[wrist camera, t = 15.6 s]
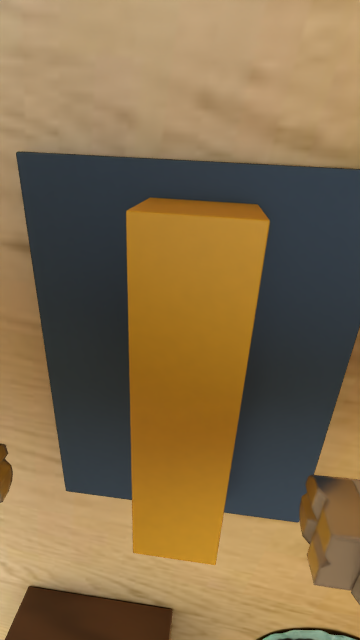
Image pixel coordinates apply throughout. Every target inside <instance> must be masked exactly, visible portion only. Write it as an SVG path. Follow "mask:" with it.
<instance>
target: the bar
mask: <svg viewBox="0 0 360 640" xmlns="http://www.w3.org/2000/svg"><path fill="white" fill-rule="evenodd" d="M269 225H270V220H269V219H268V217H267V216H266V215H265V213H264V212H263V211H262V209H261V208H260V207H259V205H257V204H244V203H228V202H213V201H197V200H181V199H165V198H148V199H147V200H145V201H143V202H141V203H139V204H138V205H136V206H134V207H132V208H130V209H129V210H127V211H126V236H127V284H128V331H129V378H130V426H131V473H132V520H133V553H138V554H144V555H151V556H158V557H164V558H171V559H178V560H185V561H191V562H198V563H205V564H211V565H215V564H216V558H217V552H218V546H219V539H220V533H221V527H222V520H223V514H224V508H225V502H226V495H227V489H228V483H229V476H230V470H231V464H232V458H233V451H234V445H235V439H236V432H237V426H238V420H239V414H240V407H241V401H242V395H243V388H244V382H245V376H246V370H247V363H248V357H249V351H250V344H251V338H252V332H253V326H254V319H255V313H256V307H257V300H258V294H259V288H260V282H261V275H262V269H263V263H264V256H265V250H266V244H267V238H268V231H269Z"/></svg>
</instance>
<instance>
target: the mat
mask: <svg viewBox="0 0 360 640" xmlns="http://www.w3.org/2000/svg"><path fill="white" fill-rule="evenodd" d="M16 156H17V163H18V170H19V176H20V183H21V190H22V197H23V203H24V210H25V217H26V224H27V231H28V237H29V244H30V251H31V258H32V264H33V271H34V278H35V285H36V291H37V298H38V305H39V312H40V318H41V325H42V332H43V339H44V345H45V352H46V359H47V366H48V372H49V379H50V386H51V393H52V400H53V406H54V413H55V420H56V427H57V433H58V440H59V447H60V454H61V460H62V467H63V474H64V481H65V487H66V491H69V492H77V493H84V494H92V495H99V496H106V497H114V498H121V499H129V500H132V473H131V426H130V378H129V331H128V284H127V236H126V211H127V210H129V209H130V208H132V207H134V206H136V205H138V204H139V203H141V202H143V201H145V200H147V199H148V198H165V199H181V200H197V201H213V202H228V203H244V204H257V205H259V207H260V208H261V209H262V211H263V212H264V213H265V215H266V216H267V217H268V219H269V220H270V225H269V231H268V238H267V244H266V250H265V256H264V263H263V269H262V275H261V282H260V288H259V294H258V300H257V307H256V313H255V319H254V326H253V332H252V338H251V344H250V351H249V357H248V363H247V370H246V376H245V382H244V388H243V395H242V401H241V407H240V414H239V420H238V426H237V432H236V439H235V445H234V451H233V458H232V464H231V470H230V476H229V483H228V489H227V495H226V502H225V508H224V512H225V513H232V514H239V515H247V516H254V517H262V518H269V519H276V520H284V521H291V522H299V520H300V519H299V507H300V501H301V497H302V496H303V495H304V494H306V493H307V490H306V486H305V483H306V480H307V477H308V476H309V475H314V472H315V469H316V465H317V462H318V459H319V456H320V453H321V449H322V446H323V443H324V440H325V436H326V433H327V430H328V427H329V424H330V420H331V417H332V414H333V411H334V407H335V404H336V401H337V398H338V395H339V391H340V388H341V385H342V382H343V378H344V375H345V372H346V369H347V366H348V362H349V359H350V356H351V353H352V349H353V346H354V343H355V340H356V337H357V333H358V330H359V327H360V169H344V168H325V167H306V166H287V165H268V164H249V163H229V162H210V161H191V160H172V159H153V158H134V157H114V156H95V155H76V154H57V153H38V152H16Z"/></svg>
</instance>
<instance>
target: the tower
mask: <svg viewBox="0 0 360 640" xmlns="http://www.w3.org/2000/svg"><path fill="white" fill-rule="evenodd" d="M171 624H172V609H166V608H160V607H153V606H147V605H141V604H135V603H128V602H122V601H116V600H110V599H103V598H97V597H91V596H85V595H78V594H72V593H66V592H60V591H54V590H47V589H41V588H35V587H28V589H27V592H26V594H25V596H24V598H23V601H22V603H21V605H20V607H19V609H18V612H17V614H16V616H15V618H14V621H13V623H12V625H11V627H10V629H9V632H8V634H7V636H6V638H5V640H170V638H171Z"/></svg>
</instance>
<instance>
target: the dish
mask: <svg viewBox="0 0 360 640" xmlns="http://www.w3.org/2000/svg"><path fill="white" fill-rule="evenodd" d="M263 640H356V639H353V638H350V637H347V636H343V635H330V634H328V633H326V632H324V631H321V630H291V631H288V632H286V633H278V634H277V633H276V634H272V635H270V636H268V637H266V638H264V639H263Z"/></svg>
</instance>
